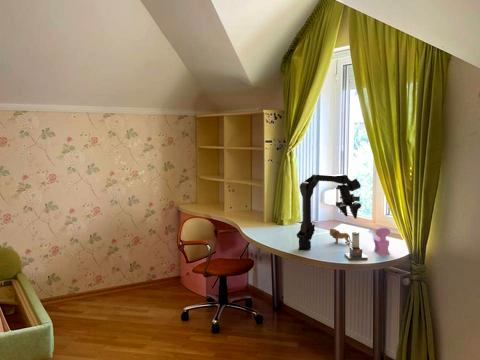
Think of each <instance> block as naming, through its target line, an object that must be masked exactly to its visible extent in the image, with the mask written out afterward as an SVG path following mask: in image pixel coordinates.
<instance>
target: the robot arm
mask: <svg viewBox="0 0 480 360" xmlns="http://www.w3.org/2000/svg"><path fill="white" fill-rule="evenodd" d="M319 182H329V183H330V182H333V183H336V184H337V186H336V188H335V190H339V193H340V196H339V200H338V201H336V202H335V207H337V208H338V209H339V211H341V212H342V214H343V215H344V216H345V217H346V218H347V217H348V209H347V207H349V211H350V213H351V214H352V217H353V218H354V219H355V220H356V219H357V217H358V211H359V210H360V208H362V203H360V200H361V197H360V195H355V194H354V193H351V192H354V191H357V190H359V189H360V188H361V187H362V186H361V182H360V181H359V180H358V179H357V178H353V179H350V178H349V177H348V175H347V174H341V173H339V174H333V175H329V174H326V175H325V174H318V173H313V174H312V175H311V176H310V177H308V178H307V179H305V180H304V181H303V182H301V183H300V184H299V191H300V195H301V198H302V222H301V224H300V229H299V231H298V232H297V233H296V238H297V239H298V251H299V250H300V251H310V250H311V248H312V241H311V240H312V238H313V235H314V234H315V231H316V230H315V227H316V226H315V223H312V196H313V194H314V190H315V188H316V187H317V185H318V184H319Z"/></svg>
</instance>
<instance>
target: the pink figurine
mask: <svg viewBox="0 0 480 360" xmlns="http://www.w3.org/2000/svg"><path fill="white" fill-rule="evenodd" d="M390 234H391V230H390V228H388V227H379V228H377V229H376V230H375V235H376V236H377V237H379V238H373V242H374V250H373V251H374V252H378V256H389V255H391V253H390V251H389V246H390V240H388V239H387V236H389V235H390Z"/></svg>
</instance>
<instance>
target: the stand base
mask: <svg viewBox="0 0 480 360" xmlns="http://www.w3.org/2000/svg"><path fill="white" fill-rule="evenodd" d="M343 255H344V257H345V258H346V259H347V261H349V262H354V261H355V262H356V261H368V259H369V257H368V256H367V255H366V254H364V252H363V249H362V248H361V247H360V246H359V249H352V246H349V252H348V253H347V252H345V253H344V254H343Z"/></svg>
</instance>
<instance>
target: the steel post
mask: <svg viewBox="0 0 480 360" xmlns="http://www.w3.org/2000/svg"><path fill="white" fill-rule="evenodd" d="M351 242H352V243H351V245H352V246H351V247H352V249H359V247H360V232H359V231H355V232H352V233H351Z"/></svg>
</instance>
